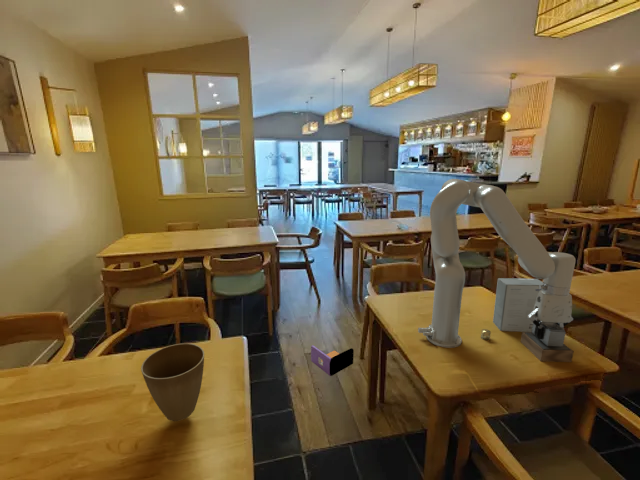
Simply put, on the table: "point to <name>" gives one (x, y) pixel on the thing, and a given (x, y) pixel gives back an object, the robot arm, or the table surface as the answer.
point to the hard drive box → (515, 303)
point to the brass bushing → (485, 334)
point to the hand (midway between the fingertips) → (546, 336)
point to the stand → (546, 349)
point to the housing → (551, 334)
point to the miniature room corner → (332, 360)
